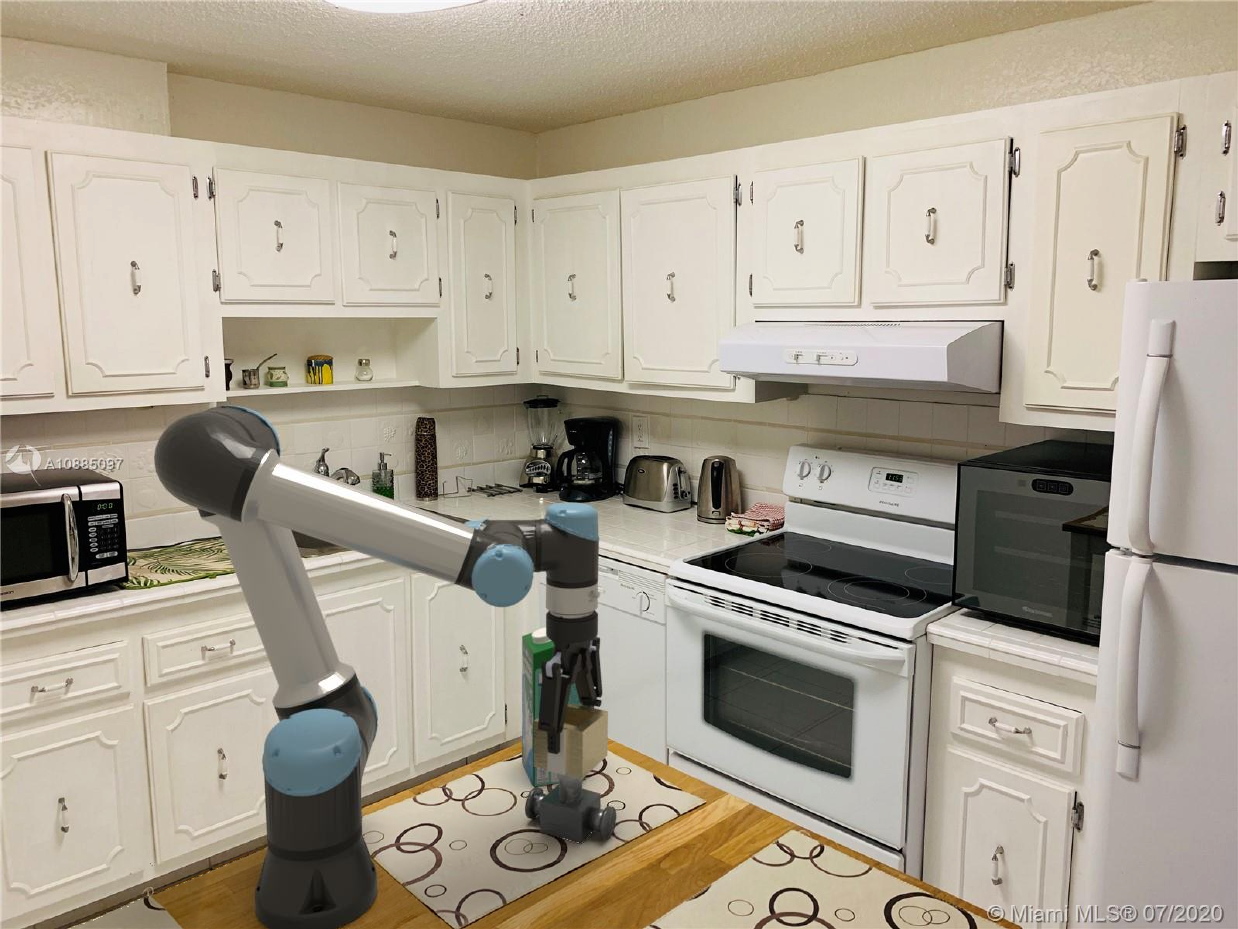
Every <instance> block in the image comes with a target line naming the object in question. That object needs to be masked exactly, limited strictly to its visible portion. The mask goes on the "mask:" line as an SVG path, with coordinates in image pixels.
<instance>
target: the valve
mask: <svg viewBox="0 0 1238 929" xmlns="http://www.w3.org/2000/svg"><path fill="white" fill-rule="evenodd" d="M601 795H602V794H601V792H597V791H592V790H589V789H585V788H583V778H578V777H574V776H570V775H566V774H564V775H562V774H559V783H557V785H555V787H553V789H551V790H550V791H549V792H548V793H547V794H546V793H545V792H544V790H543V788H542V787H540V786H534V787H532V789H531V790H530V791H529V793H528V795H527V797H526V801H525V806H524V812H525V813H524V814H525V816H526V818H528V819H530V820H535V819H536V818H537V817H539V833H542V834H545V835H548V834H549V836H552V835H554V836H553V837H555V836H557V837H556V838H559V837H560V838H559V839H562V838H565V839H564V840H566V839H568V840H567V841H569V840H571V841H570V842H573V841H574V842H573V843H576V842H579V843H578V844H580V843H582V842H583V841H584V840H585V839H586V838H587V837H588V836H589V835H590V834H591V832H593V831H594V832H596V833H598V835H599V838H600V839H601V840H608V839H609V838H611V836H612V835H613V833H614V830H615V826H616V824H617V810H616V808H615V807H614V806H612V805H607V806H606V807H605V808H604V809H603V808H601V805H602V803H601V801H602V800H601ZM594 832H593V833H594ZM591 835H592V834H591ZM591 835H590V836H591ZM590 836H589V837H590ZM589 837H588V838H589ZM588 838H587V839H588ZM587 839H586V840H587ZM586 840H585V841H586ZM585 841H584V842H585ZM584 842H583V843H584ZM583 843H582V844H583Z"/></svg>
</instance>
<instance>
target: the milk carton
mask: <svg viewBox="0 0 1238 929" xmlns="http://www.w3.org/2000/svg"><path fill="white" fill-rule="evenodd" d="M521 640H522V641H521V657H522V658H521V662H522V663H521V665H522V666H521V679H522V680H521V684H522V685H521V695H522V696H521V702H522V703H521V726H522V727H521V729H522V730H521V762H522V764H523V767H524V769H525V772H526V774H527V776H528V778H529V781H530V783H531V785H532V788H534V787H540V786H547V785H555V784H559V774H558V773H554V772H550V771H547V770H546V769H542V768H538V767H534V720H536V719H537V718H539V709H540V697H541V686H542V671H541V664H542V662H543V661H550V660H551V659H552V655H553V650H554V643H553V642H552V641H551V640H550V639H549V638H548V637H547V635H546V627H541V628H538V629H537V630H534V631H533V632H530V633H528V634H524V635H522V636H521ZM561 677H566V678H568V677H569V676H566V675H561ZM568 703H571V704H576V705H582V703H580V701H579V697H578V693H577V689H576V685H575V683H574V684H572V686H571V691H570V696H569V701H568ZM583 780H587V775H586V776H585V777H583Z"/></svg>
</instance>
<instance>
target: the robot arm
mask: <svg viewBox="0 0 1238 929" xmlns="http://www.w3.org/2000/svg"><path fill="white" fill-rule="evenodd" d="M279 438H280V437H279V436H278V433H277V431H276V429H275V427H274V426H273V424H272V423H271V422H270V421H269V420H268V419H267V418H266V417H265V416H264V415H262V414H261V413H259V412H258V411H257V410H256V411H255V410H253V409H251V408H248V407H245V406H238V405H229V404H228V405H225V404H224V405H219V406H212V407H211V408H208V409H205V410H202V411H200V412H193V413H191V414H188V415H187V414H186V415H185V416H182V417H180V418H178V419H176V420H175V421H174V422H172V423H171V424H170V425H169V426H168V427H166V429H164V431H163V432H162V434H161V435H160V436H159V438H158V441H157V443H156V446H155V449H154V456H153V460H154V462H153V463H154V468H155V473H156V475H157V478H158V479H159V481H160V483H161V484H162V486H163V487H164V489H165V490H166V491H167V492H168V493H170V494H171V496H173V497H174V498H176V499H177V500H178V501H180V502H181V503H184V504H187V505H188V506H192V507H193V508H196V509H197V511H198V513H199V516H200V518H201V520H203V521H205V522H208V523H209V524H211V525H214V526H216V527H217V528H218V531H219V533H220V535H221V539H222V542H223V544H224V546H225V550H226V552H227V554H228V556H229V560H230V562H231V566H232V567H233V570H234V573H235V575H236V578H237V580H238V582H239V585H240V586H239V587H240V588H241V591H242V594H243V596H244V598H245V602H246V604H247V607H248V610H249V611H250V614H251V617H252V619H253V621H254V625H255V627H256V630H257V632H258V635H259V638H260V641H261V643H262V645H263V649H264V651H265V653H266V655H267V658H268V661H269V664H270V667H271V669H272V671H273V675H274V677H275V680H276V682H277V685H278V688H277V690H276V693H275V694H274V696H273V698H272V701H271V702H272V706H273V707H274V710H275V713H276V715H277V717H278V718H277V719H278V721H279V722H278V723H276V724H275V725H274V726H273V727H272V728H271V729H270V731H269V732H268V733H267V736H266V737H265V741H264V746H263V754H262V758H261V759H262V760H261V761H262V762H261V764H262V772H263V776H264V777H263V780H264V800H265V821H266V842H267V845H266V846H267V847H266V848H267V850H266V853H265V856H264V860H263V863H262V867H261V871H260V874H259V875H260V876H259V879H258V881H257V883H256V887H255V888H254V889H255V890H254V912H255V913H254V914H255V915H256V918H257V919H258V921H259V923H260V924H262V925H263V926H264V927H265V928H267V929H336V928H340V927H342V926H345V925H346V924H349V923H350V922H352V921H354V920H356V919H357V918H359V917H360V916H362V915H363V914H365V912H366V911H367V910H368V909H369V908H370V907H371V906H372V905H373V903H374V902H375V899H376V897H377V894H378V872H377V868H376V866H375V863H374V861H373V860H372V858H371V853H370V851H369V848H368V846H367V843H366V840H365V838H364V835H363V808H362V807H363V806H362V803H363V802H362V781H363V776H364V772H365V769H366V765H367V762H368V759H369V756H370V752H371V750H372V747H373V744H374V742H375V739H376V736H377V732H378V726H379V724H378V721H379V717H378V709H377V705H376V702H375V699H374V697H373V696H372V694H371V693H370V691H369V690H368V689H367V688H366V687H365V685H363V684H361V683H360V681H359V678H358V676H357V673H356V670H355V668H354V667H353V666H352V665H350V664H348V663H344V662H341V661H340V659H339V656H338V653H337V651H336V647H335V645H334V643H333V640H332V637H331V634H330V632H329V629H328V627H327V624H326V621H325V618H324V615H323V612H322V610H321V607H320V604H319V602H318V599H317V597H316V594H315V591H314V588H313V585H312V583H311V580H310V578H309V575H308V571H307V570H306V566H305V564H304V562H303V558H302V556H301V553H300V550H299V547H298V545H297V542H296V538H295V536H294V533H293V532H292V531H294V532H297V533H300V534H302V535H306V536H309V537H312V538H314V539H316V540H317V539H318V540H320V541H324V542H327V543H330V544H333V545H336V546H339V547H341V548H345V549H348V550H350V551H354V552H357V553H359V554H362V555H366V556H369V557H372V558H375V559H377V560H382V561H384V562H387V563H390V564H393V565H396V566H399V567H402V568H406V569H408V570H412V571H413V572H414V571H415V572H417V573H421V574H424V575H427V576H429V577H432V578H435V579H438V580H442V581H444V582H446V583H447V582H448V583H450V584H453V585H456V586H460V587H462V588H466V589H467V590H470V591H474V592H475V594H476V595H477V596H478V598H480V600H482V601H483V602H484V603H485V604H487V605H489V606H492V607H497V608H507V607H511V606H514V605H516V604H518V603H520V602H521V601H522V600H524V599H525V598H526V597H527V596H528V594H529V593H530V590H531V588H532V585H533V582H534V573H541V572H543V573H545V574H546V575H545V576H546V577H545V608H546V610H547V612H546V614H545V628H546V635H547V637H548V638H549V639H550V640H551V641H552V642H553V643H554V650H553V655H552V659H551V660H550V661H543V662H542V664H541V671H542V686H541V697H540V709H539V720H538V730H541V731H546V732H547V771H550V772H554V773H558V774H562V775H564V774H566V730H565V729H563V727H564V721H565V716H566V711H567V706H568V701H569V696H570V691H571V686H572V684H574V683H575V685H576V689H577V693H578V697H579V701H580V703H582V705H581V706H586V707H590V708H595V707H598V708H599V707H601V706H602V699H598V698H602V696H603V684H602V683H603V682H602V670H601V656H600V647H601V638H600V637H599V636H598V635H599V613H598V612H597V611H596V610H597V609H598V607H599V606H598V605H599V602H598V601H599V598H600V596H601V594H600V591H599V555H600V553H599V551H600V548H599V547H600V544H599V543H600V536H599V535H600V533H599V515H598V511H597V510H596V508H595V507H594V506H592V505H590V504H587V503H582V502H581V503H580V502H562V503H559V502H558V503H553V504H550V505H548V507H547V508H546V510H545V515H544V518H539V519H488V518H484V519H482V520H470V521H466V522H464V523H462V522H458V521H455V520H452V519H450V518H447V517H444V516H441V515H440V514H439V515H438V514H436V513H433V512H430V511H426V510H424V509H421V508H418V507H415V506H413V505H410V504H408V503H404V502H402V501H398V500H395V499H393V498H389V497H388V496H387V497H386V496H384V495H381V494H379V493H376V492H372V491H369V490H367V489H364V488H361V487H358V486H355V485H352V484H349V483H346V482H343V481H341V480H338V479H335V478H331V477H330V476H326V475H324V474H320V473H318V472H315V471H312V470H310V469H307V468H304V467H301V466H297V465H294V464H292V463H289V462H287V461H284V460H282V459H281V442H280V439H279ZM561 675H566V676H569V677H568V678H566V677H561Z"/></svg>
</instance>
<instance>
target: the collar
mask: <svg viewBox="0 0 1238 929" xmlns="http://www.w3.org/2000/svg"><path fill="white" fill-rule="evenodd" d="M538 720H539V718H537V719H536V720H534V767H538V768H542V769H546V770H547V732H546V731H541V730H538ZM563 729H565V730H566V775H570V776H574V777H578V778H583V777H585V776H586V777H587V775H588V774H590V772H591V771H593V769H595V767H597V766H598V765H599V764H600V763H601V762H602V761H603V760H604V759H605V758H607V756H608V751H609V750H608V737H609V736H608V734H609V733H608V732H609V730H608V729H609V711H608V710H604V709H599V708H595V707H594V708H590V707H586V706H581V705H576V704H571V703H568V706H567V711H566V716H565V721H564V727H563Z"/></svg>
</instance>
